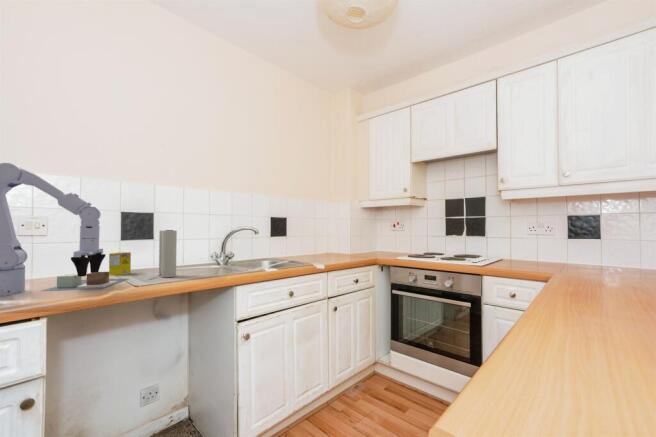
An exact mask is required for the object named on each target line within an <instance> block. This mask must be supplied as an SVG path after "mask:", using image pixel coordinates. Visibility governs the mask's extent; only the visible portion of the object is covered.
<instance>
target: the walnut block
mask: <svg viewBox="0 0 656 437" xmlns="http://www.w3.org/2000/svg"><path fill="white" fill-rule="evenodd" d="M109 279H110V275H109V271H99V272H93V273H91V272H90V273H87V274H86V280H87V283H86V285H102V284H105V283H108V282H109Z"/></svg>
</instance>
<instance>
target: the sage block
mask: <svg viewBox="0 0 656 437" xmlns="http://www.w3.org/2000/svg"><path fill="white" fill-rule="evenodd" d="M81 280H82V276H81V277H79V276H78V274H77V273H72V274H71V273H67V274H63V275H61V274H60V275H58V276H56V286H57V288H61V287H75V286H78V285H81Z"/></svg>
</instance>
